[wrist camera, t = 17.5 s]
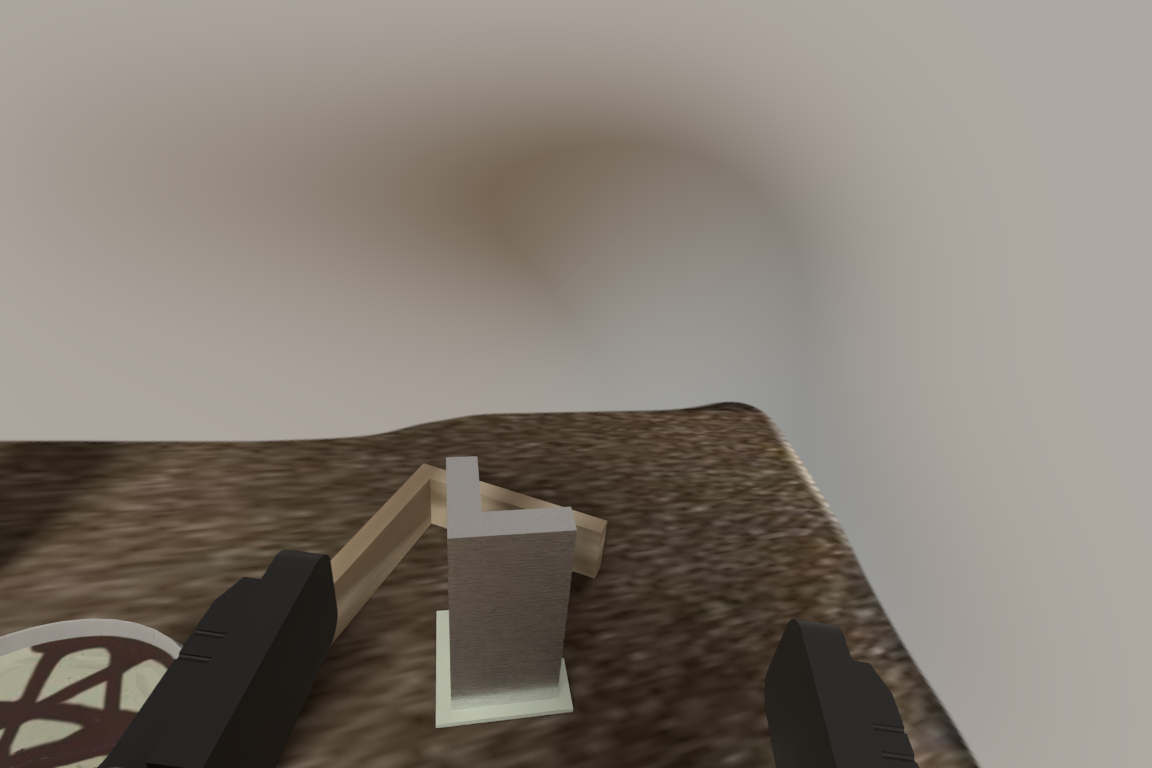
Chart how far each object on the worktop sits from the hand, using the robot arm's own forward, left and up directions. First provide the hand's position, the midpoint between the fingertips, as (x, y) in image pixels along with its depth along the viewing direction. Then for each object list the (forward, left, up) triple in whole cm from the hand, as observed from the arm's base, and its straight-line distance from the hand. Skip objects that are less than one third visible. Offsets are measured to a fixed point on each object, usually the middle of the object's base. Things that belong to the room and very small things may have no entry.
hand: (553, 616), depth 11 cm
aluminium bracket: (-7, +14, -22) cm, 27 cm away
